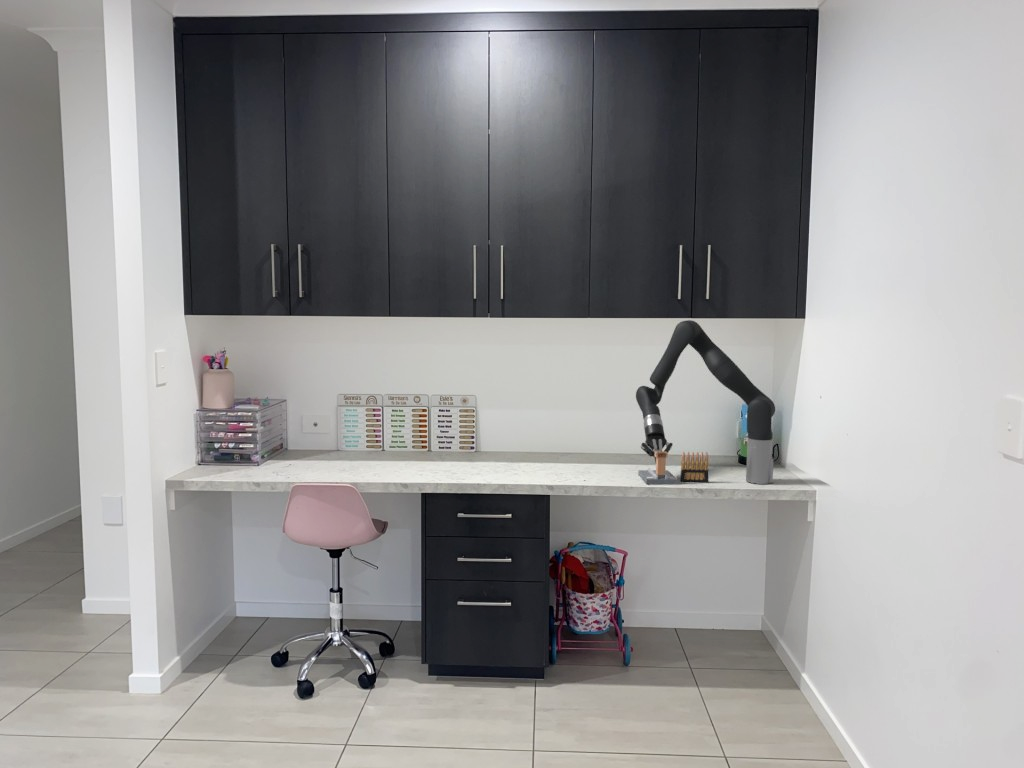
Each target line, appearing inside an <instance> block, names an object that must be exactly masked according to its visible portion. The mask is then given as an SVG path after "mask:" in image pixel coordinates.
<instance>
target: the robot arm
mask: <svg viewBox="0 0 1024 768" xmlns="http://www.w3.org/2000/svg"><path fill="white" fill-rule="evenodd" d="M688 345H689V346H690V347H691V348H693V349H694V350H695V351H696V352H697V353H698V355H699V356H700V357H701V359H702V360H703V363H704V364H705V366H706V368H707V369H708V370H709V372H710V373H711V374H712V375H713V376H714V378H716V380H717V381H718V382H719V383H720V384H722V385H723V386H724V387H725V388H727V389H728V390H730V391H731V392H733V393H734V394H736V395H737V396H738V397H739V398H740V399H742V401H743V402H744V403H745V404H746V405H747V411H746V433H747V442H746V443H747V446H746V447H747V449H746V468H745V469H746V470H745V471H746V472H745V481H746V482H747V481H748V482H747V483H749V482H751V483H750V484H754V483H756V484H755V485H767V484H773V477H774V475H773V474H774V458H772V457H773V455H772V454H773V435H774V433H773V430H772V417H773V416H774V415H775V414H776V413H775V412H776V405H775V404H774V401H773V400H772V399H771V398H770V397H769V396H767V395H766V394H765V393H764V392H762V391H761V389H759V388H758V387H757V386H756V385H754V383H753V382H752V381H751V380H750V379H749V378H748V376H747V375H746V374H745V373H744V371H742V370H741V368H739V367H738V365H737V364H736V363H735V362H734V361H733V360H732V359H731V358H730V357H729V356H728V354H727V353H725V352H724V351H723V350H722V349H721V348H720V347H719V346H718V345H717V344H715V342H713V340H712V339H711V338H710V337H709V336H708V335H707V333H706V332H705V331H704V329H703V327H702V326H701V325H700V324H699V323H698V322H696V321H695V320H691V319H688V320H682V321H680V322H678V323H677V324H676V326H675V327H674V329H673V333H672V335H671V337H670V340H669V343H668V345H667V347H666V349H665V350H664V353H663V354H662V356H661V358H660V360H659V361H658V363H657V365H656V366H655V369H654V370H653V372H652V373H651V375H650V377H649V381H650V383H651V384H652V385H654V387H653V388H652V387H650V386H647V385H640V386H638V388H637V390H636V391H635V399H636V403H637V405H638V407H639V409H640V411H641V413H642V417H643V418H642V419H643V430H644V434H645V442H642V443H641V445H640V449H642V450H643V451H644V452H645V453H646V454H647V455H648V456H649V457H653V458H654V463H655V464H656V457H655V451H666V452H667V453H668V454H669V452H670V451H671V450H672V447H673V442H668V440H667V439H666V435H665V431H664V426H663V425H664V424H663V419H662V417H661V411H660V410H661V409H660V408H659V406H658V404H660V402H661V401H662V397H663V394H664V390H665V387H666V385H667V383H668V381H669V379H670V378H671V377H672V374H673V373H674V371H675V369H676V366H677V363H678V361H679V358H680V357H681V355H682V352H683V351H684V350H685V349H686V348H687V346H688ZM664 447H665V449H664ZM663 449H664V450H663Z"/></svg>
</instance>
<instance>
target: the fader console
mask: <svg viewBox="0 0 1024 768" xmlns="http://www.w3.org/2000/svg"><path fill="white" fill-rule="evenodd" d="M639 476H640V477H641V478H642V479H641V478H640V477H639ZM638 477H639V478H640V479H641V480H642V481H643V482H644V483H645V485H678V480H679V479H678V478H677V477H675V475H674V474H672V472H670V471H669V470H668V469H667V470H666V469H665V475H664V478H658V476H657V474H656V469H651V467H648V468H647V470H645V469H643V470H642V469H639V470H638Z"/></svg>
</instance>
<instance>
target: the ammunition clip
mask: <svg viewBox="0 0 1024 768" xmlns="http://www.w3.org/2000/svg"><path fill="white" fill-rule="evenodd" d="M699 454H700V456H699ZM679 482H680V483H686V482H694V484H695V483H696V484H709V455H708V452H705V456H704V453H703V451H701V453H699V452H698V451H697V452H696V455H695V453H694V451H692V452H691V455H690V452H689V451H687V453H686V454H685V451H683V452H682V454H681V461H680V479H679Z"/></svg>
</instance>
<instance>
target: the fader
mask: <svg viewBox="0 0 1024 768" xmlns="http://www.w3.org/2000/svg"><path fill="white" fill-rule="evenodd" d="M668 455H669V452H668V453H667V452H666V451H664V450H662V451H658V450H657V451H655V457H656V463H655V470H656V474H657V476H658V478H664V475H665V470H666V464H667V463H666V460H667V459H666V458H668Z"/></svg>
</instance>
